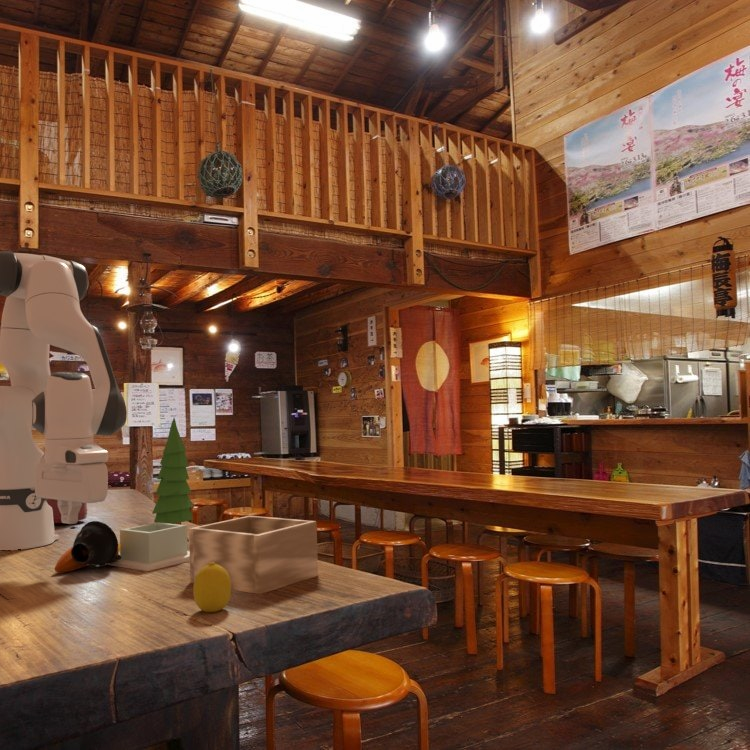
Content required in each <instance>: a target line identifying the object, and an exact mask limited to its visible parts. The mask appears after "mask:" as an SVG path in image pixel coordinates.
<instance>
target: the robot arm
mask: <svg viewBox="0 0 750 750" xmlns="http://www.w3.org/2000/svg"><path fill="white" fill-rule="evenodd" d="M88 274H89V273H88V271H87V269H86V267H85V266H84V265H83V264H81V263H78V262H76V261H73V260H71V259H70V260H65V259H62V258H59V257H54V256H50V255H45V254H34V253H23V252H21V253H20V252H13V251H12V250H11V251H10V250H3V251H2V250H1V251H0V296H3V297H6V298H5V302H4V306H3V310H2V315H1V321H0V323H1V324H0V364H1V365H2V366H3V367H4V368H5V369H6V372H7V373H8V377H9V380H10V385H0V550H11V551H19V550H18V549H21V550H28V549H33V548H39V547H44V546H47V545H50V544H53V543H54V541H57V540H59V539H60V535H59V534H56V533H55V523H54V521H53V511H52V507H51V506H49V505H48V503H47V501H46V500H47V499H56V500H58V508H59V510H60V513H61V522H62V523H61V524H68V525H74V524H77V523H78V522H79V521H78V513H79V511H80V508H81V506H82V503H87V504H95V503H96V504H97V503H101V502H102V503H103V502H105V500H106V499H107V497H108V492H109V491H108V490H109V489H108V488H109V483H108V481H109V474H108V473H109V472H108V467H107V464H105V463H106V462H108V461H109V452H108V450H107V449H105V448H103V447H102V446H99V444H97V443H96V442H94V439H95V438H94V435H95V436H108V437H109V436H110V437H111V436H113V435H114V434H116V433H117V432H118V431H120V430H121V429H122V428H123V427H124V426H125V424H126V422H127V415H128V414H127V413H128V410H127V409H128V408H127V405H126V402H125V399H124V397H123V394H122V392H121V390H120V388H119V386H118V383H117V379H116V377H115V374H114V373H115V372H114V370H113V367H112V365H111V360H110V358H109V354H108V351H107V349H106V344H105V342H104V339H103V338H102V335H101V332H100V331H99V329H98V327H96V326H95V325H93V324H92V323H90V322H89V320H87V319H86V316H84V314H83V312H82V310H81V306H80V301H81V300H83V299H84V298H85V297H86V294H87V291H88V288H89V275H88ZM50 346H53V347H55V348H60V349H63V350H65V351H67V352H70V353H73V354H75V355H77V356H79V357H81V358H82V359H83V360H84V362H86V364H87V367H88V370H89V374H90V376H91V378H90V376H89V375H88V374H86V373H84V372H75V371H58V372H52V373H51V367H50V349H51V348H50ZM91 380H92V382H93V387H94V389H92V383H91ZM32 431H38V432H39V433H40V434H42V435H44V451H43V450H42V449H41V448H39V446H38V444H37V443H36V441H35V439H34V436H33V433H32Z"/></svg>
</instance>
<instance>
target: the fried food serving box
mask: <svg viewBox="0 0 750 750" xmlns="http://www.w3.org/2000/svg"><path fill="white" fill-rule="evenodd" d="M317 526H318V524H317V521H316V520H308V519H307V520H306V519H305V520H304V519H296V518H295V519H293V518H282V517H270V516H259V515H246V516H241V517H236V518H232V519H227V520H223V521H218V522H213V523H208V524H204V525H198V526H195V527H194V526H193V527H189V528H188V533H189V534H188V535H189V537H188V540H189V541H188V542H189V551H190V561H189V577H190V579H189V581H190V583H191V584H194V581H195V577H196V575H197V573H198V572H199V571H200V570H201V569H202V568H203V567H204V566H206V565H208V564H209V563H210V562H214V563H215V564H217V565H220V566H222V567H223V568H224V569H225V570H226V571H227V572H228V575H229V577H230V581H231V591H239V592H246V593H252V594H256V595H262V594H265V593H268V592H271V591H274V590H278V589H281V588H284V587H287V586H289V585H292V584H296V583H299V582H302V581H305V580H309V579H311V578H314V577H317V576H319V562H318V560H319V557H318V556H319V555H318V529H317V528H318V527H317Z"/></svg>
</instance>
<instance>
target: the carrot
mask: <svg viewBox="0 0 750 750" xmlns="http://www.w3.org/2000/svg"><path fill="white" fill-rule="evenodd" d="M72 548H73V546H71V547H69V548H68V550H66V551H65V552H64V554H62V555H61V556H60V557H59V559H58V560H57V562H56V564H55V567H54V571H55V572H56V573H59V574H60V573H61V574H63V573H69V572H72V571H75V570H78V569H81V568H83V567H86V566H88V565H87V564H84V563H82V564H79V563H77V562H75V561H74V559H73V558H72V555H71V550H72ZM81 552H82V553H83V555H84V556H86V554H88V555H89V552H88V551H87V550H86V548H85V547H84V550H82V549H81Z"/></svg>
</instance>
